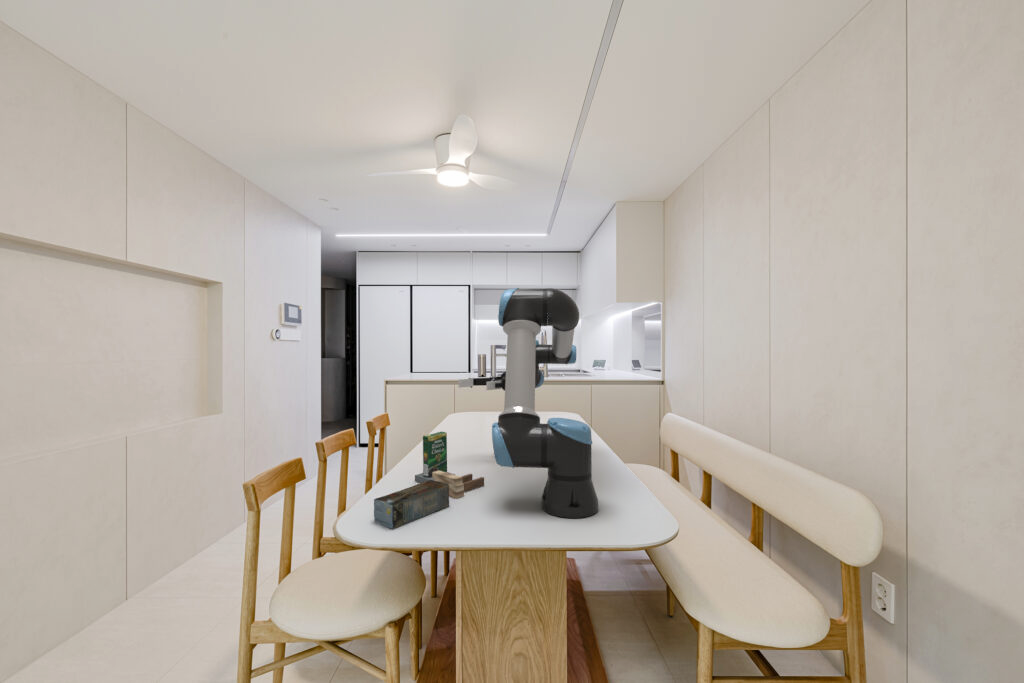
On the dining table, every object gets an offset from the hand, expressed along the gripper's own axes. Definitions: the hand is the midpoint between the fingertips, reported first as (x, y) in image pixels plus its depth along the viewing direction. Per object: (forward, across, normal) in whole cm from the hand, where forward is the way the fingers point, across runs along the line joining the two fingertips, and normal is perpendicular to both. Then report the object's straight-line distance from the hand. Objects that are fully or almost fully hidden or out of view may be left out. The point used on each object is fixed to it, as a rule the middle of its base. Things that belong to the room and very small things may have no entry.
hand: (472, 384), depth 147 cm
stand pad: (+14, +3, -30) cm, 33 cm away
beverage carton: (+35, -14, -30) cm, 48 cm away
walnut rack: (+11, -9, -30) cm, 33 cm away
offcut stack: (+19, -9, -30) cm, 36 cm away
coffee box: (+14, +3, -28) cm, 31 cm away
